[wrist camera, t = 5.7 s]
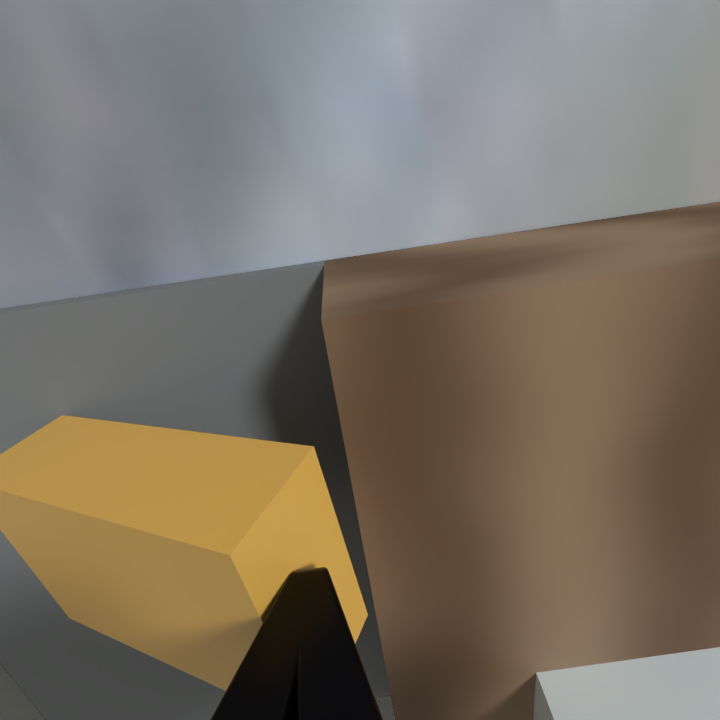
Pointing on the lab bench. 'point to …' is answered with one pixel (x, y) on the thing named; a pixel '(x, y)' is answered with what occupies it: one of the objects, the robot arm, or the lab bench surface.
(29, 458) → the amber slide box
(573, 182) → the lab bench surface
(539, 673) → the pale blue slide box
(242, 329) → the slate mat
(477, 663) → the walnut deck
